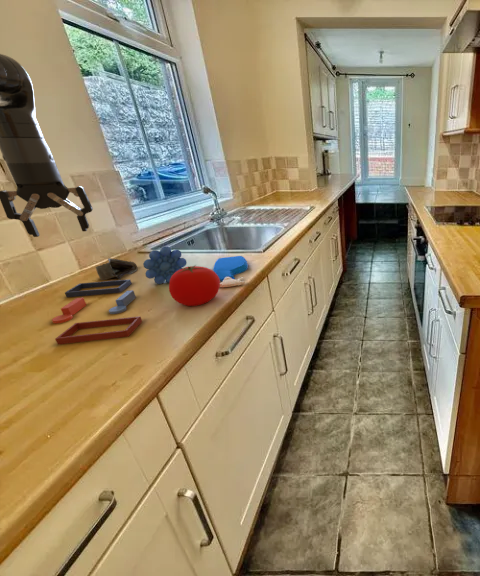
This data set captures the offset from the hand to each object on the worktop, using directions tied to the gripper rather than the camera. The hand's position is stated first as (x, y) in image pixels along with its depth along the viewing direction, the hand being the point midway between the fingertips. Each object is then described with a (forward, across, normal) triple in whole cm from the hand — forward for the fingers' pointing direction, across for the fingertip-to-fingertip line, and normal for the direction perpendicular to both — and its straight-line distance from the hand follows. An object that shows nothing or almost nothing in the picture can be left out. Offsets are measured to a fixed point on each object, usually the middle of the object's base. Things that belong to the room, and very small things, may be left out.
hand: (61, 233), depth 76 cm
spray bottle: (+21, -36, -5) cm, 42 cm away
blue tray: (+21, -1, -15) cm, 26 cm away
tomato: (+21, -23, +11) cm, 33 cm away
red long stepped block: (+21, +4, 0) cm, 21 cm away
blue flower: (+21, -18, -10) cm, 30 cm away
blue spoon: (+21, -7, +2) cm, 22 cm away
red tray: (+21, -3, +17) cm, 27 cm away
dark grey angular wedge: (+21, -4, -28) cm, 35 cm away
